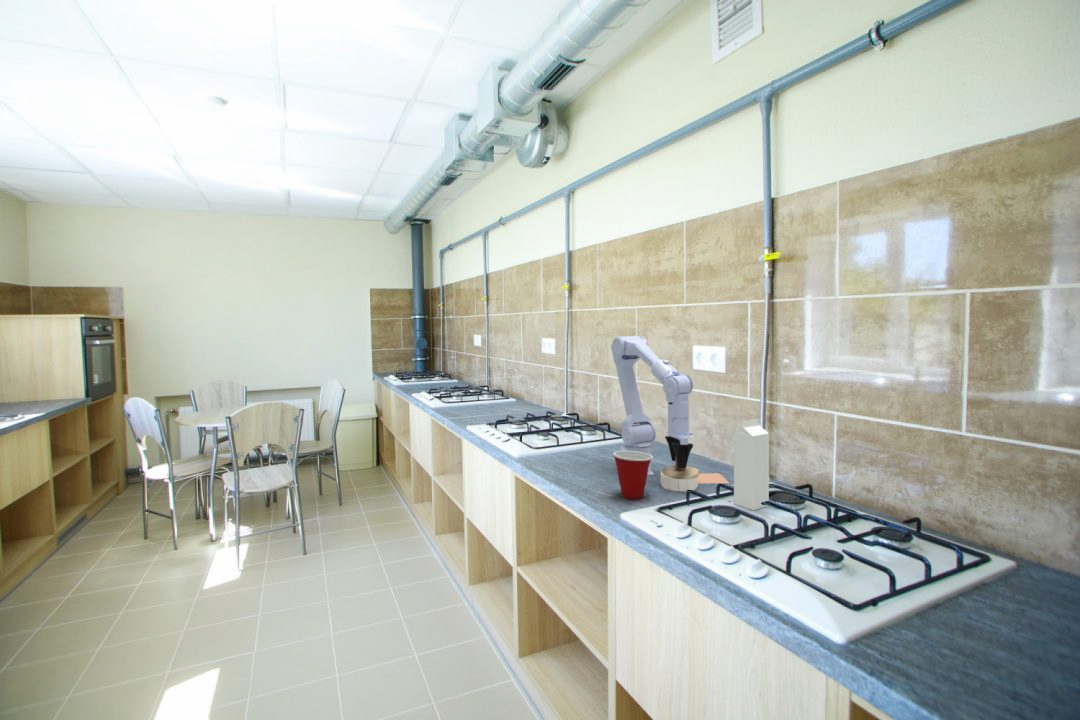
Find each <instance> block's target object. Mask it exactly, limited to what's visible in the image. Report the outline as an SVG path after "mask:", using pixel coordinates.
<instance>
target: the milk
mask: <svg viewBox="0 0 1080 720" xmlns="http://www.w3.org/2000/svg"><path fill="white" fill-rule="evenodd" d="M769 436H770V435H769V432H768V431H767V430H766V429H764V428H763V427H762V426H761V425H760V419H750V420H744V421H743V422H742V427H741V428H739V429H737V430H736V431H734V432H733V503H734V505H736V506H739V507H742V508H744V509H748V510H750V511H757V510H760V509H763V508H767V507H768V506H765V505H762V504H761V503H762V502H765V501H769V502H770V500H769V499H770V496H769V495H770V494H769V492H770V489H769V488H770V476H769V473H770V471H769V470H770V469H769V468H770V467H769V466H770V465H769V463H770V461H769V458H770V457H769V455H770V454H769V449H770V448H769V447H770V445H769V444H770V443H769V441H770V438H769Z"/></svg>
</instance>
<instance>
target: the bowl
mask: <svg viewBox="0 0 1080 720" xmlns="http://www.w3.org/2000/svg"><path fill="white" fill-rule="evenodd" d="M660 485H661V488H663V489H665V490H668V491H673V492H688V491H687V490H692V491H695V490H697V489H698V486H699V485H698V477H696V478H692V479H675V478H670V477H666V476H664V475H663V471H662V472H661V471H660Z"/></svg>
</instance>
